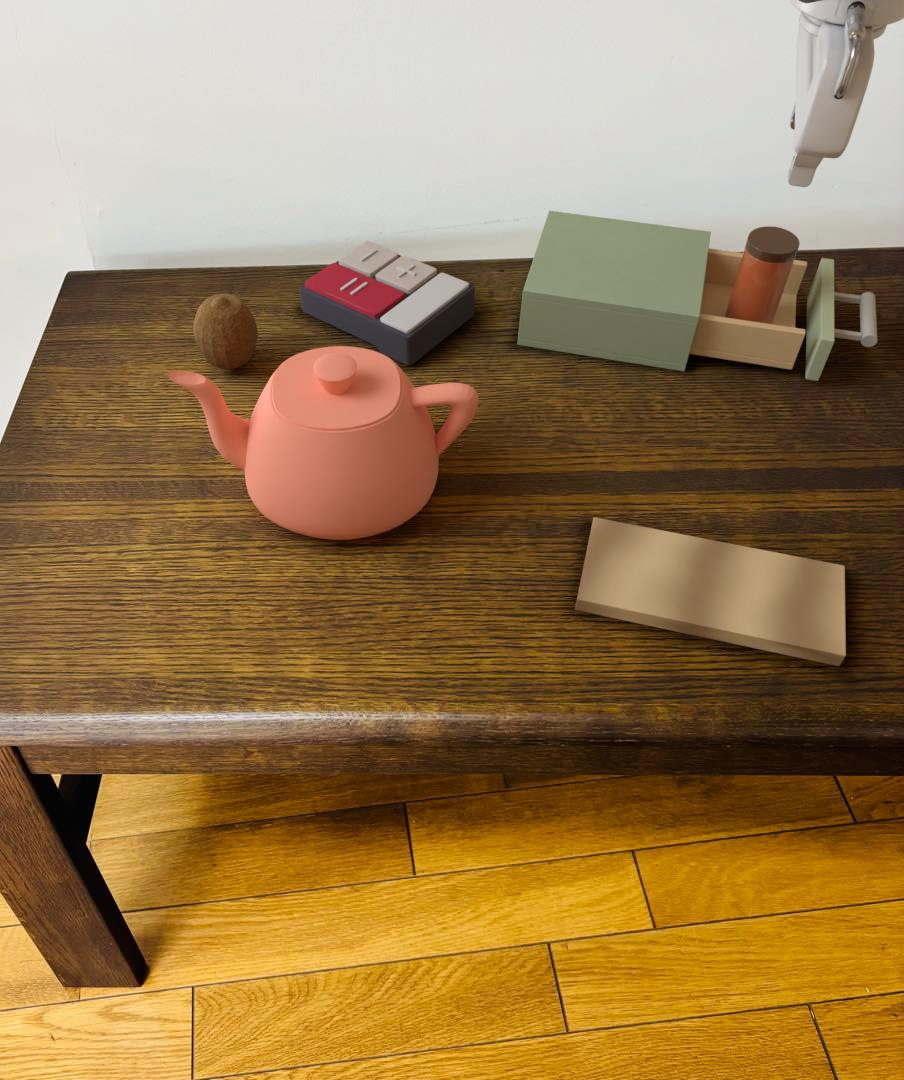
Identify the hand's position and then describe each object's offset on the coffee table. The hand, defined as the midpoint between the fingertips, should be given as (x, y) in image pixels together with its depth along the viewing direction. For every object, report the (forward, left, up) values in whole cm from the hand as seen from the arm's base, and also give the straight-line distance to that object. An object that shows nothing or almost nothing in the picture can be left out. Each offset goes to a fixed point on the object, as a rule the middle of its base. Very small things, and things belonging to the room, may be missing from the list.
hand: (798, 153), depth 85 cm
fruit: (+49, +16, -21) cm, 55 cm away
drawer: (-2, -1, -19) cm, 20 cm away
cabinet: (+13, -1, -20) cm, 24 cm away
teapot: (+34, +29, -21) cm, 49 cm away
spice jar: (0, -1, -18) cm, 18 cm away
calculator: (+36, +4, -21) cm, 41 cm away
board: (+1, +33, -20) cm, 39 cm away
